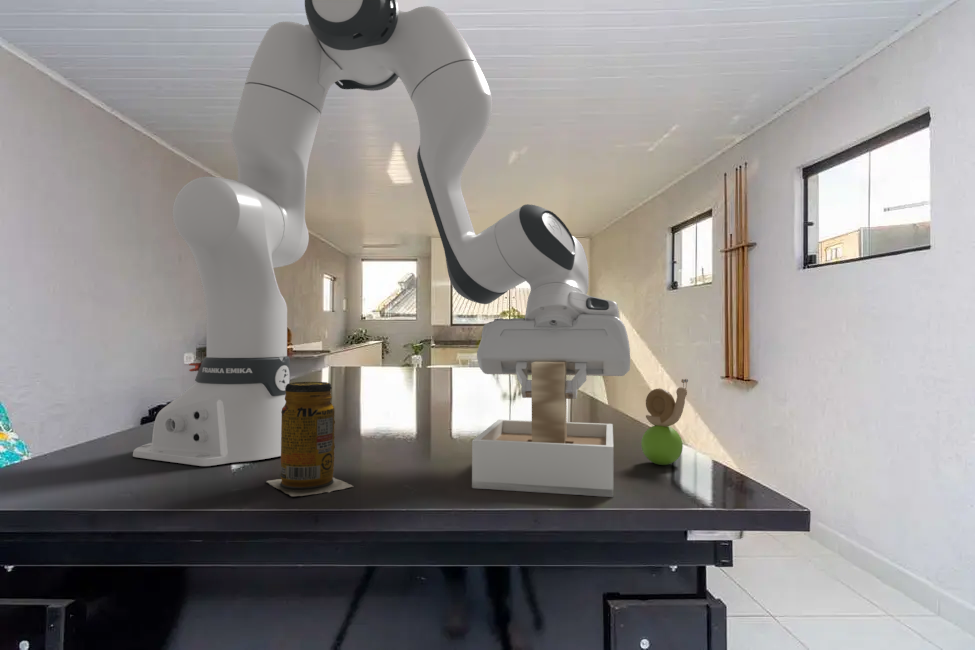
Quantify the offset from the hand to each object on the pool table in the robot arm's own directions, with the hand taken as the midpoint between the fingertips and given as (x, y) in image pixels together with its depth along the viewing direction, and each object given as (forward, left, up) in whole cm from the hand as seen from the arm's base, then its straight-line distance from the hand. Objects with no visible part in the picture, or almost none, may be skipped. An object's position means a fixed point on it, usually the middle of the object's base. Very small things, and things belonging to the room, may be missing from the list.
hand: (548, 395), depth 72 cm
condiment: (-27, -10, -10) cm, 31 cm away
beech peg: (0, +1, -6) cm, 6 cm away
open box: (0, +1, -10) cm, 10 cm away
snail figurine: (+15, +10, -10) cm, 21 cm away
